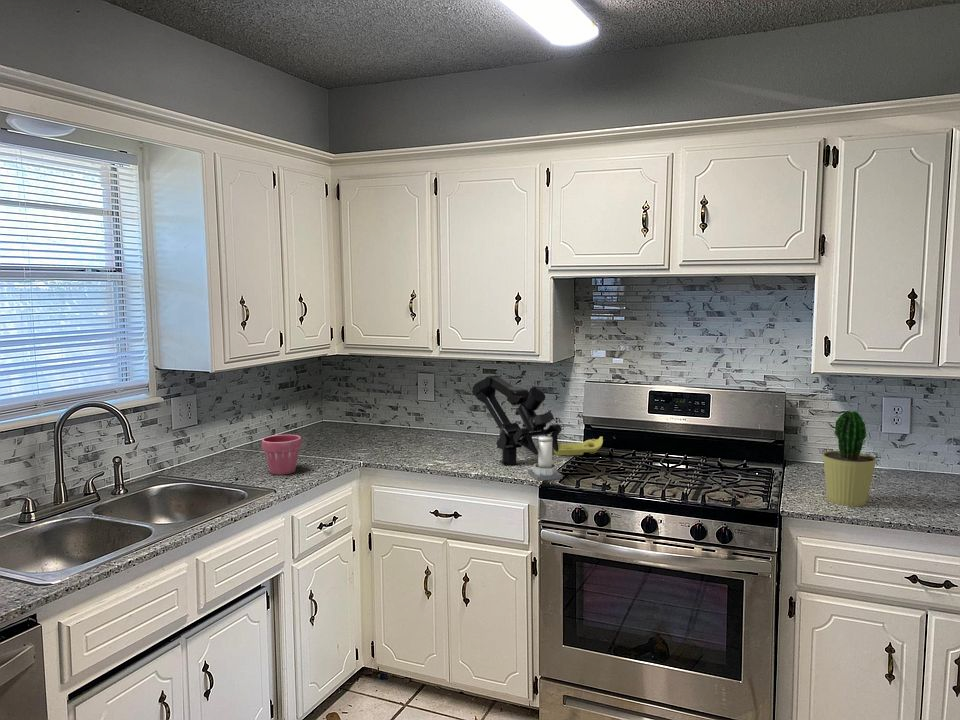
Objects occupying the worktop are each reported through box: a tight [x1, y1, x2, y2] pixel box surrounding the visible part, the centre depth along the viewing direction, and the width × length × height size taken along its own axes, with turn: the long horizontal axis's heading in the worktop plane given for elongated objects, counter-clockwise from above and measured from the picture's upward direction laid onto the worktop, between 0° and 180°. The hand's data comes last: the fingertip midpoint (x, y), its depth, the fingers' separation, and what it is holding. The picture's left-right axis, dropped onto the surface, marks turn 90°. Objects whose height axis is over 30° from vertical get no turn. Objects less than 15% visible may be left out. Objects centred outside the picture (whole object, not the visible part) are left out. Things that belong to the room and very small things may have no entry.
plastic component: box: [553, 436, 604, 456], centre depth 298 cm, size 20×7×10 cm
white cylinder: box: [537, 435, 553, 468], centre depth 262 cm, size 5×5×13 cm
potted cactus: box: [822, 410, 877, 507], centre depth 232 cm, size 15×15×30 cm
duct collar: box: [527, 463, 563, 482], centre depth 262 cm, size 10×10×4 cm
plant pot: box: [261, 434, 302, 475], centre depth 268 cm, size 14×14×13 cm
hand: (547, 452), depth 260 cm, fingers open, 9 cm apart
